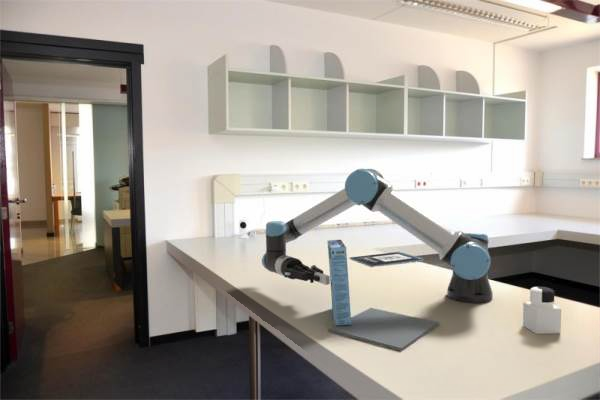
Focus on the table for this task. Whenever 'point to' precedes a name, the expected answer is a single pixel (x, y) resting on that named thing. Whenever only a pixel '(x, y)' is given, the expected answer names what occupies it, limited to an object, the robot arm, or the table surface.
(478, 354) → the table surface
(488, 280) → the robot arm
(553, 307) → the medicine bottle
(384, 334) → the mat
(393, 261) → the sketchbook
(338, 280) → the gum box
